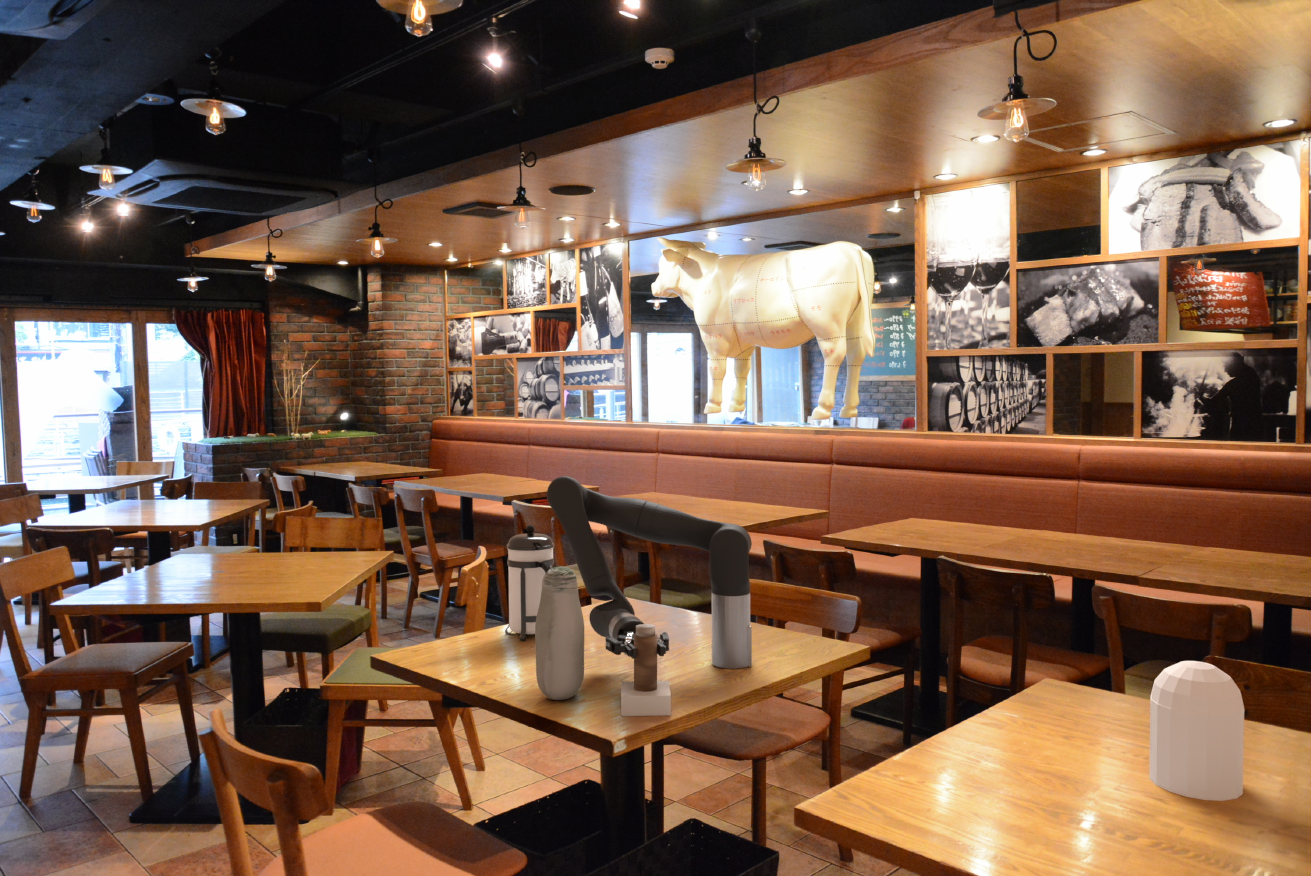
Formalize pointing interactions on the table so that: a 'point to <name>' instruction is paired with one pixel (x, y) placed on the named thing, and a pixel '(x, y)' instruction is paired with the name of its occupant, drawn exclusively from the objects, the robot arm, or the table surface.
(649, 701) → the riser block
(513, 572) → the coffee press
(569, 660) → the grey vase
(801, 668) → the table surface
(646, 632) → the pepper mill
